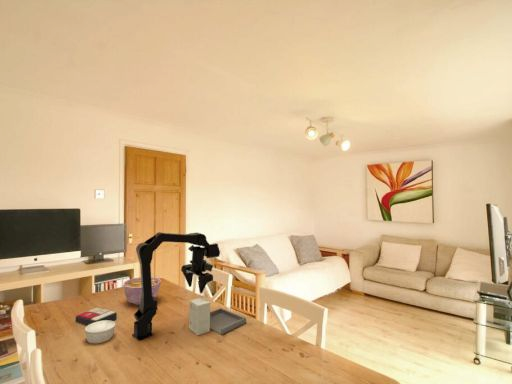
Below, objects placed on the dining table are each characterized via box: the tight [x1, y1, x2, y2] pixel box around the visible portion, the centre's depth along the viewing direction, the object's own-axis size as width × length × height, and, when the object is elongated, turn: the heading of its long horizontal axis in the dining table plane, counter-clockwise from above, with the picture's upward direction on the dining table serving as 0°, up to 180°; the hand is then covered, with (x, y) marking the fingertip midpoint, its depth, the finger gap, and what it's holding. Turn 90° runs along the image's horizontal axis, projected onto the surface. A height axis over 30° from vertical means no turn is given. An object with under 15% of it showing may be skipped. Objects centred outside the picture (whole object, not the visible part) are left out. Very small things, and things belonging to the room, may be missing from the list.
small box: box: [188, 297, 211, 336], centre depth 126 cm, size 8×6×13 cm
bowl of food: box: [122, 276, 162, 306], centre depth 158 cm, size 20×20×12 cm
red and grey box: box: [75, 307, 117, 327], centre depth 134 cm, size 11×4×15 cm
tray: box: [210, 307, 247, 336], centre depth 134 cm, size 15×18×2 cm
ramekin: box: [84, 320, 116, 345], centre depth 118 cm, size 11×11×5 cm
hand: (195, 289), depth 136 cm, fingers open, 9 cm apart
